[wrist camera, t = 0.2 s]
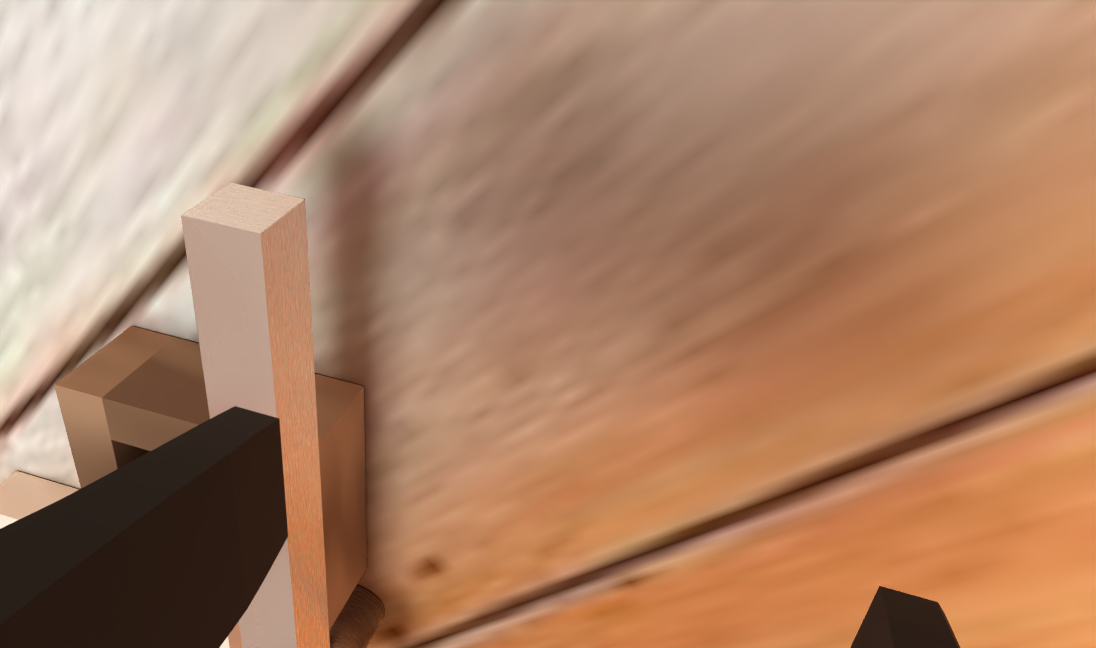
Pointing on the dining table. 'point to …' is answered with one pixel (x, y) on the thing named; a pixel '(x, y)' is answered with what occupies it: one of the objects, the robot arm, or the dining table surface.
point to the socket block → (181, 404)
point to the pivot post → (357, 620)
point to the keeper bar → (266, 381)
